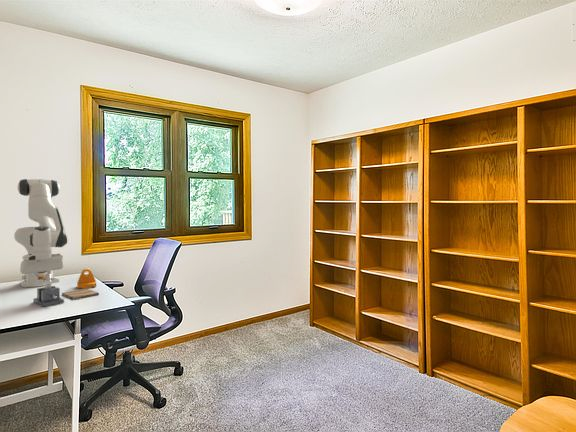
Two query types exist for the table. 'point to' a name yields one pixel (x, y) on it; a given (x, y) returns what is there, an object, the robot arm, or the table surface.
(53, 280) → the loop
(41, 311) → the table surface
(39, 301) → the vise
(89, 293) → the board
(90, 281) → the orange rounded piece
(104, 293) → the table surface
